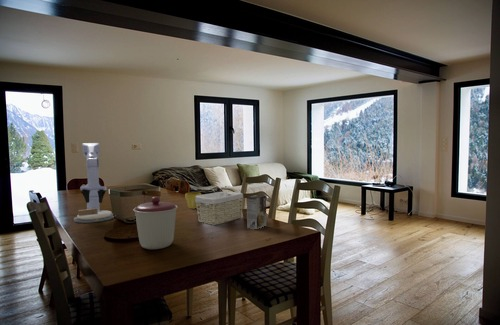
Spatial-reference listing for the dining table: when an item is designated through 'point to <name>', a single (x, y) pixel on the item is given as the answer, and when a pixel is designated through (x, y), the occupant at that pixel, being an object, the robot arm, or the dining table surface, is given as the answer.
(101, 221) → the base
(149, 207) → the canister
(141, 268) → the dining table surface
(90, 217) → the dial
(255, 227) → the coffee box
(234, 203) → the storage basket
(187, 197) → the plant pot
